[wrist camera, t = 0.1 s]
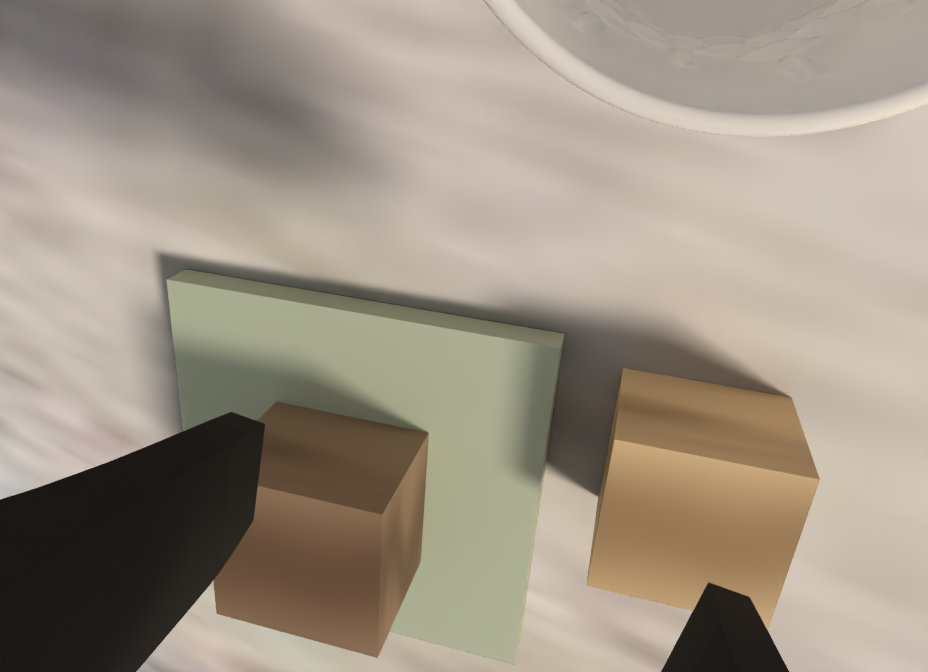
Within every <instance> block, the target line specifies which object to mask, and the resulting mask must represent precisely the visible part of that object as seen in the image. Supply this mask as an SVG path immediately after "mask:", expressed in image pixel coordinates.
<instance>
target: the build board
mask: <svg viewBox="0 0 928 672" xmlns="http://www.w3.org/2000/svg"><path fill="white" fill-rule="evenodd" d="M166 281H167V290H168V299H169V309H170V318H171V327H172V336H173V346H174V355H175V364H176V373H177V383H178V392H179V401H180V410H181V419H182V429H183V431H185V430H188V429H190V428H192V427H195V426H197V425H200V424H202V423H204V422H207V421H209V420H211V419H214V418H216V417H219V416H222V415H224V414H227V413H229V412H233V413H236V414H239V415H242V416H245V417H247V418H250V419H253V420H256V421H257V420H258V419H259V418H260V417H261V416H262V415H263V414H264V413H265V412H266V411H267V410H268V409H269V408H270V407H271V406H272V405H273V404H274V403H275V402H276V401H277V402H282V403H286V404H291V405H296V406H301V407H306V408H311V409H316V410H320V411H325V412H330V413H335V414H340V415H345V416H350V417H354V418H359V419H364V420H369V421H374V422H379V423H384V424H389V425H393V426H398V427H403V428H408V429H413V430H418V431H423V432H427V433H429V440H428V455H427V471H426V487H425V503H424V519H423V535H422V551H421V562H420V565H419V567H418V569H417V571H416V573H415V576H414V578H413V580H412V582H411V585H410V587H409V589H408V591H407V593H406V596H405V598H404V600H403V602H402V605H401V607H400V609H399V611H398V613H397V616H396V618H395V620H394V622H393V624H392V627H391V629H390V631H389V632H392V633H396V634H400V635H404V636H407V637H411V638H415V639H419V640H422V641H426V642H430V643H434V644H437V645H441V646H445V647H449V648H452V649H456V650H460V651H464V652H467V653H471V654H475V655H479V656H482V657H486V658H490V659H494V660H498V661H501V662H505V663H509V664H513V665H514V663H515V658H516V654H517V650H518V646H519V641H520V634H521V627H522V620H523V614H524V607H525V600H526V593H527V586H528V580H529V573H530V566H531V559H532V552H533V546H534V539H535V532H536V525H537V518H538V512H539V505H540V498H541V491H542V484H543V478H544V471H545V464H546V457H547V451H548V444H549V437H550V430H551V423H552V417H553V410H554V403H555V396H556V389H557V383H558V376H559V369H560V362H561V355H562V349H563V342H564V335H565V334H563V333H557V332H551V331H545V330H539V329H534V328H528V327H522V326H516V325H510V324H504V323H498V322H492V321H487V320H481V319H475V318H469V317H463V316H457V315H451V314H446V313H440V312H434V311H428V310H422V309H416V308H410V307H404V306H399V305H393V304H387V303H381V302H375V301H369V300H363V299H358V298H352V297H346V296H340V295H334V294H328V293H322V292H316V291H311V290H305V289H299V288H293V287H287V286H281V285H275V284H270V283H264V282H258V281H252V280H246V279H240V278H234V277H228V276H223V275H217V274H211V273H205V272H199V271H193V270H187V269H186V270H184V271H182V272H180V273H178V274H176V275H174V276H172V277H170V278H168V279H166ZM211 584H212V585H214V580H213V581H212V583H211Z"/></svg>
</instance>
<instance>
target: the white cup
mask: <svg viewBox="0 0 928 672" xmlns="http://www.w3.org/2000/svg"><path fill="white" fill-rule="evenodd" d="M484 2H485V3H486V4H487V6H488V7H489V8H490V9H491V11H492V12H493V13H494V14H495V16H496V17H497V18H498V19H499V20H500V21H501V23H502V24H503V25H504V26H505V27H506V28H507V29H508V30H509V31H510V32H511V33H512V34H513V35H514V37H515V38H516V39H517V40H518V41H519V42H521V43H522V44H523V45H524V46H525V47H526V48H527V49H528V50H529V51H530V52H531V53H532V54H534V55H535V56H536V57H537V58H538V59H539V60H541V61H542V62H543V63H544V64H545V65H547V66H548V67H549V68H551V69H552V70H553V71H555V72H556V73H557V74H559V75H560V76H561V77H563V78H564V79H566V80H567V81H569V82H570V83H572V84H573V85H575V86H577V87H578V88H580V89H582V90H583V91H585V92H587V93H588V94H590V95H592V96H594V97H596V98H598V99H600V100H602V101H603V102H606V103H608V104H610V105H612V106H614V107H616V108H619V109H621V110H623V111H626V112H628V113H631V114H633V115H636V116H639V117H642V118H645V119H648V120H651V121H654V122H657V123H661V124H665V125H668V126H672V127H676V128H681V129H686V130H691V131H696V132H703V133H710V134H718V135H728V136H745V137H774V136H792V135H802V134H811V133H818V132H825V131H831V130H837V129H842V128H847V127H852V126H856V125H861V124H865V123H869V122H873V121H877V120H880V119H884V118H887V117H891V116H894V115H897V114H900V113H903V112H906V111H909V110H912V109H915V108H918V107H921V106H923V105H926V104H928V0H484Z"/></svg>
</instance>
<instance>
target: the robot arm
mask: <svg viewBox="0 0 928 672" xmlns="http://www.w3.org/2000/svg"><path fill="white" fill-rule="evenodd" d="M264 431H265V424H264V423H261V422H259V421H256V420H253V419H250V418H247V417H245V416H242V415H239V414H236V413H233V412H229V413H227V414H224V415H222V416H219V417H216V418H214V419H211V420H209V421H207V422H204V423H202V424H200V425H197V426H195V427H192V428H190V429H188V430H185V431H183V432H181V433H178V434H176V435H174V436H171V437H169V438H166V439H164V440H162V441H159V442H157V443H154V444H152V445H150V446H147V447H145V448H142V449H140V450H137V451H135V452H132V453H130V454H127V455H125V456H123V457H120V458H118V459H115V460H113V461H110V462H108V463H105V464H102V465H99V466H97V467H94V468H91V469H88V470H86V471H83V472H80V473H77V474H75V475H72V476H69V477H66V478H63V479H61V480H58V481H55V482H52V483H50V484H47V485H44V486H41V487H39V488H35V489H32V490H29V491H26V492H23V493H20V494H17V495H14V496H10V497H7V498H4V499H1V500H0V672H136V671H137V670H138V669H139V668H140V667H141V665H142V664H143V663H144V662H145V661H146V660H147V658H148V657H149V656H150V655H151V654H152V653H153V651H154V650H155V649H156V648H157V647H158V645H159V644H160V643H161V642H162V641H163V640H164V638H165V637H166V636H167V635H168V634H169V633H170V631H171V630H172V629H173V628H174V627H175V625H176V624H177V623H178V622H179V621H180V620H181V618H182V617H183V616H184V615H185V614H186V613H187V611H188V610H189V609H190V608H191V607H192V605H193V604H194V603H195V602H196V601H197V599H198V598H199V597H200V596H201V595H202V593H203V592H204V591H205V590H206V589H207V587H208V586H209V585H210V584H211V583H212V581H213V580H214V579H215V578H216V576H217V575H218V574H219V573H220V571H221V570H222V568H223V567H224V565H225V564H226V562H227V561H228V559H229V558H230V556H231V555H232V553H233V552H234V550H235V549H236V547H237V546H238V544H239V543H240V541H241V540H242V538H243V536H244V535H245V533H246V532H247V530H248V528H249V527H250V525H251V524H252V522H253V521H254V513H255V505H256V496H257V488H258V480H259V472H260V464H261V455H262V447H263V439H264ZM661 672H789V671H788V669H787V667H786V665H785V663H784V661H783V659H782V657H781V655H780V654H779V652H778V650H777V648H776V646H775V644H774V642H773V640H772V638H771V636H770V634H769V632H768V631H767V629H766V627H765V625H764V623H763V621H762V619H761V617H760V615H759V613H758V611H757V610H756V608H755V606H754V604H753V602H752V600H751V599H750V597H749V596H746V595H743V594H740V593H737V592H735V591H732V590H729V589H726V588H723V587H721V586H718V585H715V584H712V583H709V582H708V584H707V586H706V588H705V589H704V591H703V593H702V595H701V597H700V599H699V601H698V603H697V605H696V607H695V608H694V610H693V612H692V614H691V616H690V618H689V620H688V622H687V624H686V626H685V628H684V629H683V631H682V633H681V635H680V637H679V639H678V641H677V643H676V645H675V647H674V648H673V650H672V652H671V654H670V656H669V658H668V660H667V662H666V664H665V666H664V668H663V669H662V671H661Z"/></svg>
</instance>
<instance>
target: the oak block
mask: <svg viewBox="0 0 928 672" xmlns="http://www.w3.org/2000/svg"><path fill="white" fill-rule="evenodd" d="M819 480H820V479H819V476H818V473H817V470H816V467H815V464H814V462H813V459H812V456H811V453H810V450H809V447H808V444H807V441H806V438H805V435H804V432H803V429H802V427H801V424H800V421H799V418H798V415H797V412H796V409H795V406H794V403H793V400H792V398H791V397H786V396H780V395H774V394H769V393H763V392H757V391H752V390H746V389H740V388H735V387H729V386H723V385H718V384H712V383H707V382H701V381H695V380H690V379H684V378H678V377H673V376H667V375H661V374H656V373H650V372H644V371H639V370H633V369H627V368H623V370H622V376H621V381H620V386H619V392H618V397H617V402H616V407H615V413H614V418H613V423H612V429H611V434H610V439H609V444H608V450H607V455H606V460H605V465H604V471H603V476H602V481H601V487H600V492H599V497H598V505H597V512H596V519H595V527H594V534H593V541H592V549H591V556H590V563H589V571H588V578H587V586H591V587H595V588H599V589H603V590H608V591H612V592H616V593H620V594H624V595H629V596H633V597H637V598H641V599H645V600H649V601H654V602H658V603H662V604H666V605H670V606H675V607H679V608H683V609H687V610H691V611H693V610H694V608H695V607H696V605H697V603H698V601H699V599H700V597H701V595H702V593H703V591H704V589H705V588H706V586H707V584H708V582H709V583H712V584H715V585H718V586H721V587H723V588H726V589H729V590H732V591H735V592H737V593H740V594H743V595H746V596H749V597H750V599H751V600H752V602H753V604H754V606H755V608H756V610H757V611H758V613H759V615H760V617H761V619H762V621H763V623H764V625H765V627H766V628H767V629H768V628H769V625H770V622H771V619H772V616H773V613H774V610H775V608H776V605H777V602H778V599H779V596H780V593H781V590H782V587H783V584H784V582H785V579H786V576H787V573H788V570H789V567H790V564H791V561H792V558H793V556H794V553H795V550H796V547H797V544H798V541H799V538H800V535H801V532H802V530H803V527H804V524H805V521H806V518H807V515H808V512H809V509H810V506H811V504H812V501H813V498H814V495H815V492H816V489H817V486H818V483H819Z"/></svg>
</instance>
